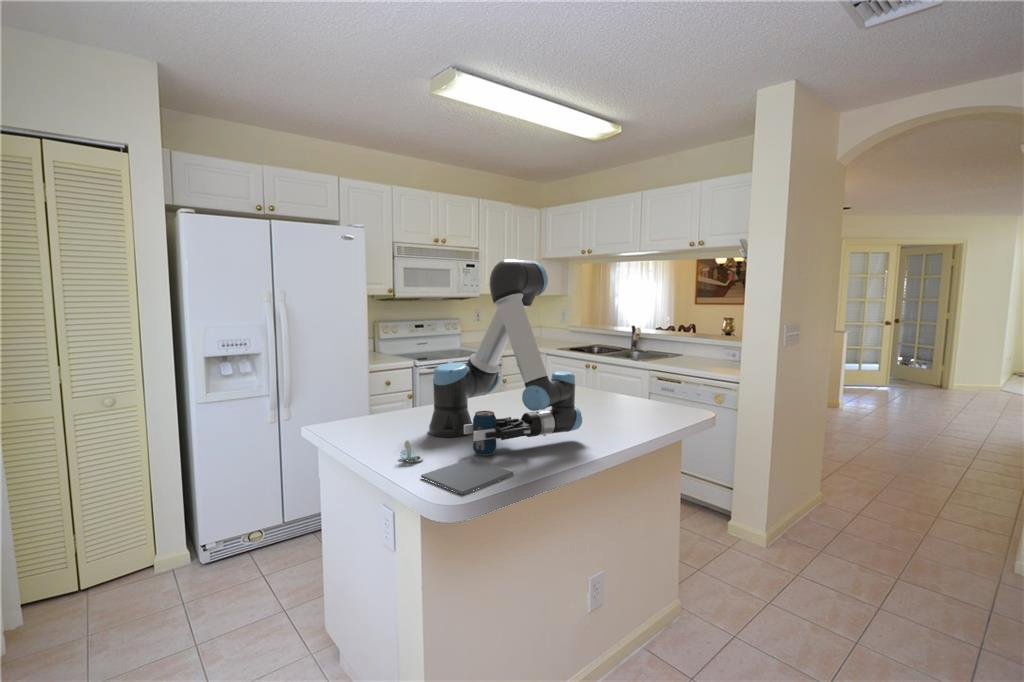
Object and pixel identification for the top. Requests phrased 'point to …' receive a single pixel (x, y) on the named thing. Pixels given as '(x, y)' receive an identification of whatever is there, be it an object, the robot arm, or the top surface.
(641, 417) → the top surface
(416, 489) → the top surface
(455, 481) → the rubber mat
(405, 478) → the top surface
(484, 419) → the soda can
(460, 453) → the top surface
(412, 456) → the pacifier
